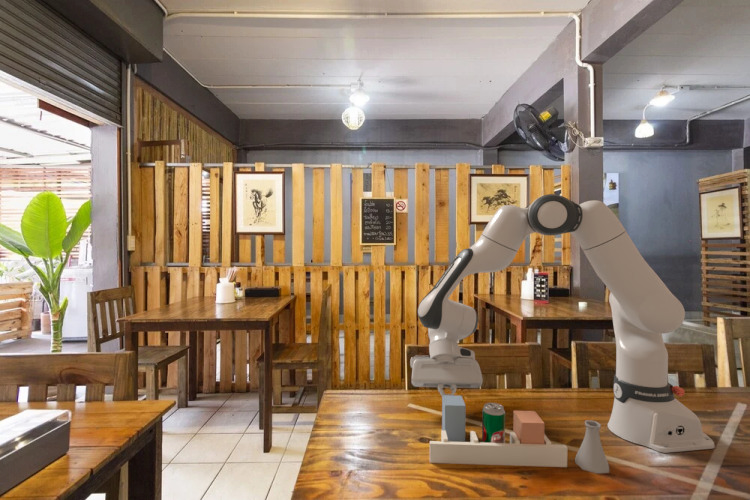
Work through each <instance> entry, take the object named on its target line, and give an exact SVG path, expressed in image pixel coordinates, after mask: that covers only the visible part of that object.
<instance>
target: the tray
mask: <svg viewBox="0 0 750 500" xmlns="http://www.w3.org/2000/svg"><path fill="white" fill-rule="evenodd" d="M469 432H470V433H469V436H470V437H469V440H470V441H465V442H461V441H448V438H447V434H446V430H442V429H441V431H440V435H441V437H440V439H441V440H440V441H439V440H429V463H430V464H451V465H452V464H453V465H454V464H457V465H458V464H459V465H460V464H461V465H485V466H488V465H489V466H515V467H516V466H517V467H518V466H521V467H524V466H525V467H547V468H548V467H553V468H568V447H567V445H566V444H552V441H551V440H550V439H549V437H547V435H546V433H544V444H520V441H519V439H518V437H517V436H516V434H515V432H513V431H510V432H509V443H508V442H505V443H484V442H482V441H479V438H478V436H477V434H476V431H475V430H470V431H469Z"/></svg>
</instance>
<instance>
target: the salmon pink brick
mask: <svg viewBox="0 0 750 500" xmlns="http://www.w3.org/2000/svg"><path fill="white" fill-rule="evenodd" d="M512 424H513V425H512V426H513V429H512V432H515V434H516V436H517V437H518V439H519V441H520V444H544V434H545V422H544V420H542V418H541V417H540V416H539V415H538V413H537V412H536V411H535V410H513V422H512Z"/></svg>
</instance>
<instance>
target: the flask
mask: <svg viewBox="0 0 750 500" xmlns="http://www.w3.org/2000/svg"><path fill="white" fill-rule="evenodd" d="M584 426H585V434H584V437H583V440H582V442H581V444H580V447H579V449H578V451H577V453H576V455H575V459H574V463H575V464H576V465H577V466H578V467H579V468H581V470H582V471H587V472H590V473H594V474H597V475H598V474H609V473H610V464H609V462H608V459H607V456H606V453H605V451H604V448H603V445H602V441H601V436H600V430H601V428H602V427H601V426H602V423H599V422H598V421H596V420H589V419H587V420H585V421H584Z"/></svg>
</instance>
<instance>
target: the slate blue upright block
mask: <svg viewBox="0 0 750 500" xmlns="http://www.w3.org/2000/svg"><path fill="white" fill-rule="evenodd" d="M441 400H442V401H441V430H446V434H447V438H448V441H449V442H466V421H467V419H466V418H467V417H466V416H467V415H466V411H467V410H466V407H467V406H466V403H465V401H464V399H463V395H454V396H451V395H442V396H441Z"/></svg>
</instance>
